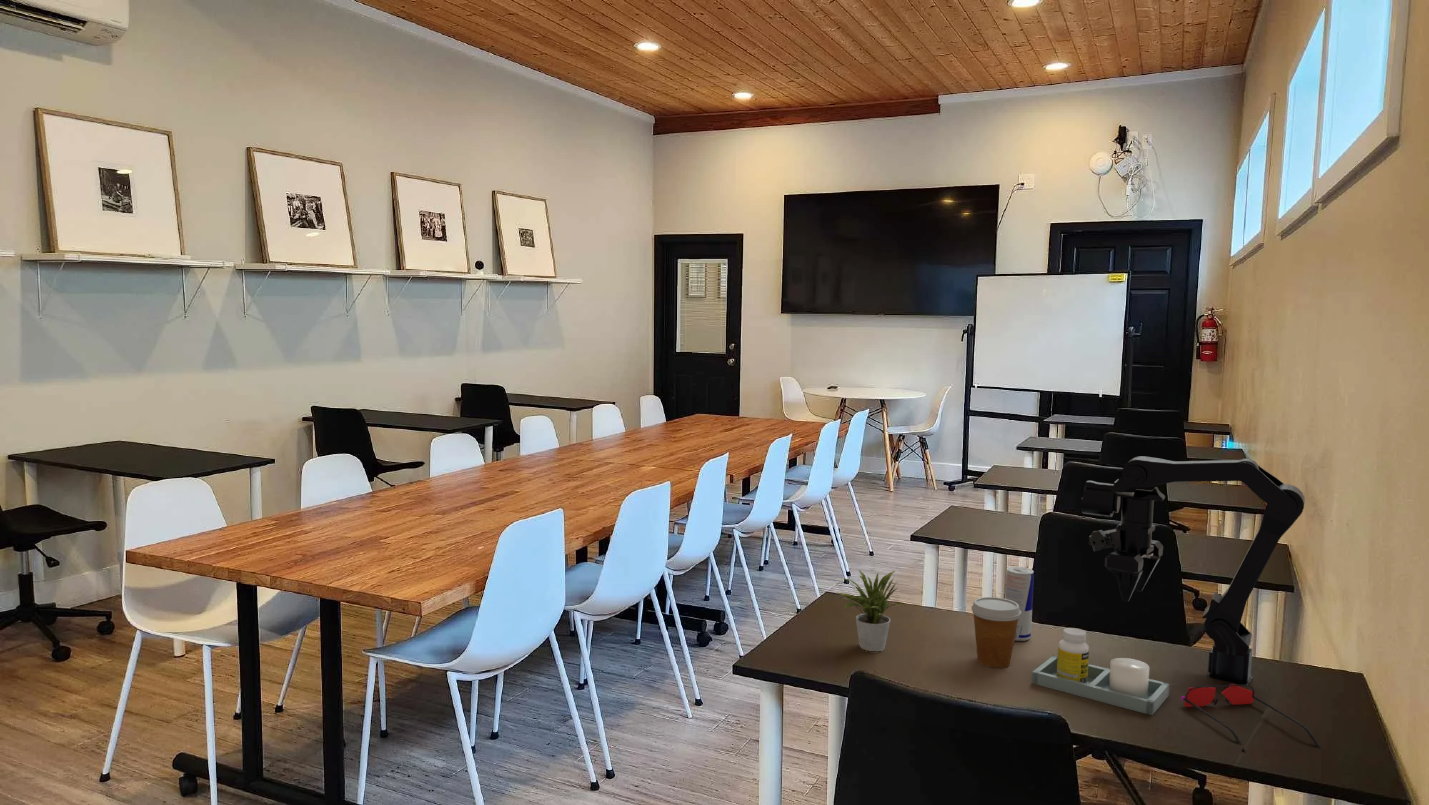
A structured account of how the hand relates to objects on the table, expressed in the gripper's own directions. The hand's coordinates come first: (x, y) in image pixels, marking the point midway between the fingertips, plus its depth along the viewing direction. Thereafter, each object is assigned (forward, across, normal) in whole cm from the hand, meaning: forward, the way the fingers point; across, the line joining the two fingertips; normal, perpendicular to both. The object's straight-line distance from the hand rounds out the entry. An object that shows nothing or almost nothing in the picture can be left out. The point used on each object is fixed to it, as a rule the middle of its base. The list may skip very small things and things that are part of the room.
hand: (1132, 596), depth 188 cm
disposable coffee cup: (+13, +20, -20) cm, 31 cm away
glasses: (+14, +20, +25) cm, 35 cm away
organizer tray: (+13, +22, +1) cm, 26 cm away
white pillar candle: (+12, +22, +6) cm, 26 cm away
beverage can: (+13, +3, -22) cm, 26 cm away
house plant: (+13, +28, -43) cm, 53 cm away
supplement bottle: (+12, +22, -4) cm, 25 cm away
